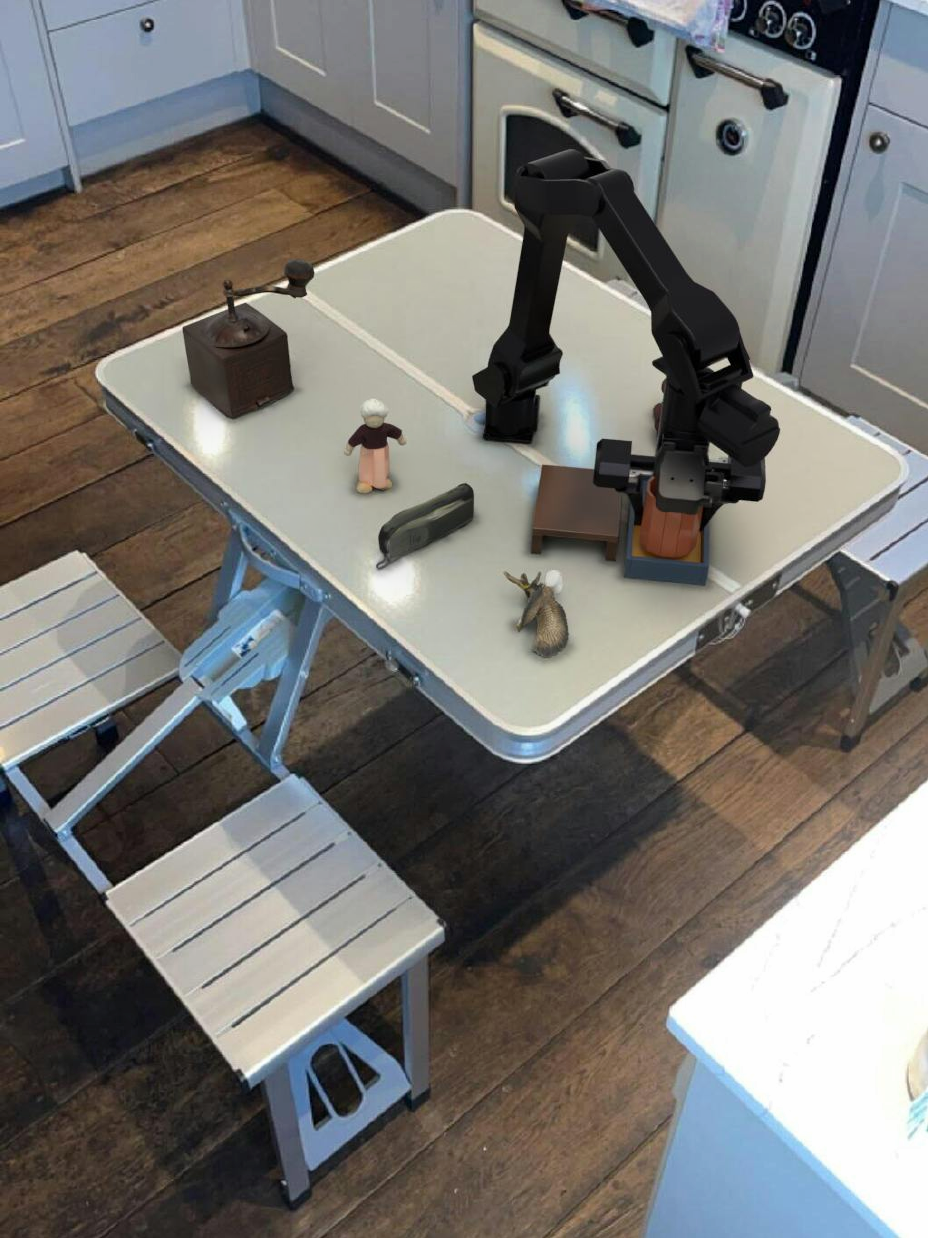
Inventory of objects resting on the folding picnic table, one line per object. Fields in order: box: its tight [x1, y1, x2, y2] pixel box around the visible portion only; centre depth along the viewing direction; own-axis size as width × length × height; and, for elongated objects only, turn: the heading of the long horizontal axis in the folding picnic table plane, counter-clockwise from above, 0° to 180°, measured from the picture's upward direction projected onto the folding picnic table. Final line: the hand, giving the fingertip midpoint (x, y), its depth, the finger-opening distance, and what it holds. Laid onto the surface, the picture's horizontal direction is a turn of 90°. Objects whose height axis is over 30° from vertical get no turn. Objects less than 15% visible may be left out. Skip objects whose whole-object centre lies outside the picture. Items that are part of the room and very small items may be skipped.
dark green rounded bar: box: [375, 482, 475, 570], centre depth 152 cm, size 5×3×15 cm
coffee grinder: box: [181, 258, 316, 420], centre depth 170 cm, size 16×11×18 cm
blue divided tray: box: [623, 475, 710, 586], centre depth 155 cm, size 9×18×3 cm, turn 172°
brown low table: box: [530, 464, 623, 562], centre depth 155 cm, size 10×12×4 cm
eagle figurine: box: [503, 569, 570, 658], centre depth 142 cm, size 8×7×9 cm
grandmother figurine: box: [343, 398, 407, 494], centre depth 157 cm, size 8×4×13 cm, turn 117°
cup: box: [639, 476, 703, 558], centre depth 148 cm, size 7×7×8 cm
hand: (669, 526), depth 149 cm, fingers closed on cup, 6 cm apart
